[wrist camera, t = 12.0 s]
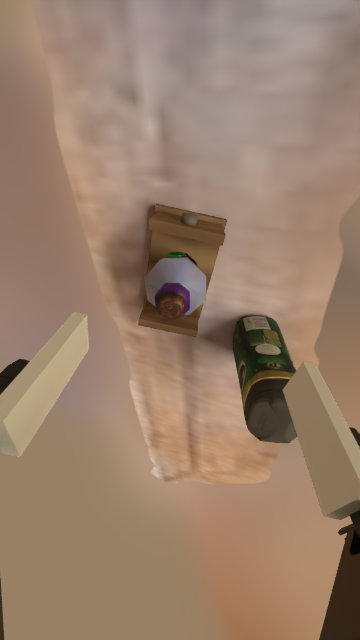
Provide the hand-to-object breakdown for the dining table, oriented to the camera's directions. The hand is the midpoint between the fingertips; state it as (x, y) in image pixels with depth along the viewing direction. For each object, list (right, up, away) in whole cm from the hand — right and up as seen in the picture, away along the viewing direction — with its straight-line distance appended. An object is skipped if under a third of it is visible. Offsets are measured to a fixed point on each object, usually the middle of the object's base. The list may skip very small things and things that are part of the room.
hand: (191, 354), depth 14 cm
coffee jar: (+13, -1, +29) cm, 32 cm away
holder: (-1, +11, +23) cm, 25 cm away
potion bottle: (-1, +10, +22) cm, 24 cm away
